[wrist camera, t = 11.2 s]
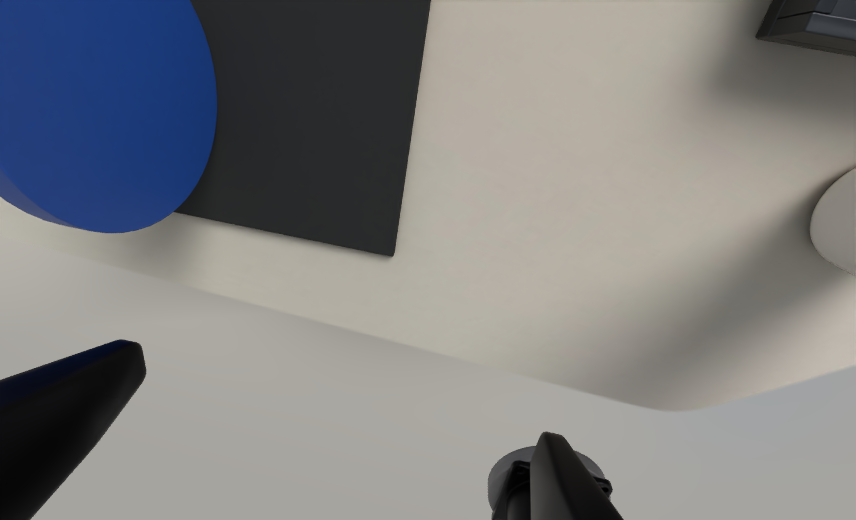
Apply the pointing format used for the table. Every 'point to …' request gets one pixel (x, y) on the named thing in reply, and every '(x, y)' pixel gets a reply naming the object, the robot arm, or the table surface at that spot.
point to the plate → (103, 109)
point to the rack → (812, 24)
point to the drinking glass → (837, 223)
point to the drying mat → (312, 116)
